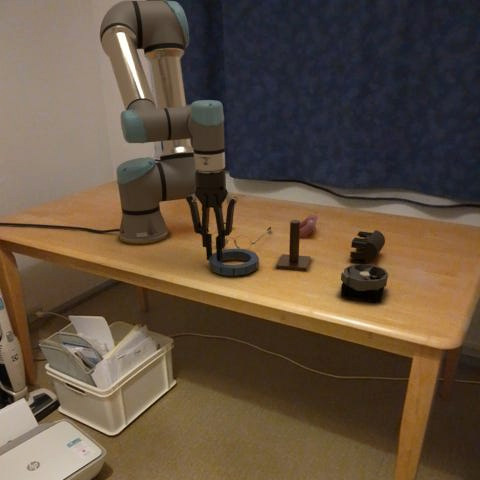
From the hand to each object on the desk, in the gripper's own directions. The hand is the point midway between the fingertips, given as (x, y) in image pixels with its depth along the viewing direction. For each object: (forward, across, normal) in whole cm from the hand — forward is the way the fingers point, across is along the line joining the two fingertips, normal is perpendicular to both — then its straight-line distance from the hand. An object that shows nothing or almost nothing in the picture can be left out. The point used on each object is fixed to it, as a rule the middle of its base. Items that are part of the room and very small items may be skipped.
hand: (214, 258), depth 130 cm
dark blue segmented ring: (+1, +5, 0) cm, 6 cm away
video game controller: (+3, +21, +31) cm, 37 cm away
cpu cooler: (+2, +40, -8) cm, 41 cm away
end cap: (+2, +40, +14) cm, 42 cm away
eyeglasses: (+3, +2, +21) cm, 21 cm away
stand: (+2, +21, +6) cm, 22 cm away
